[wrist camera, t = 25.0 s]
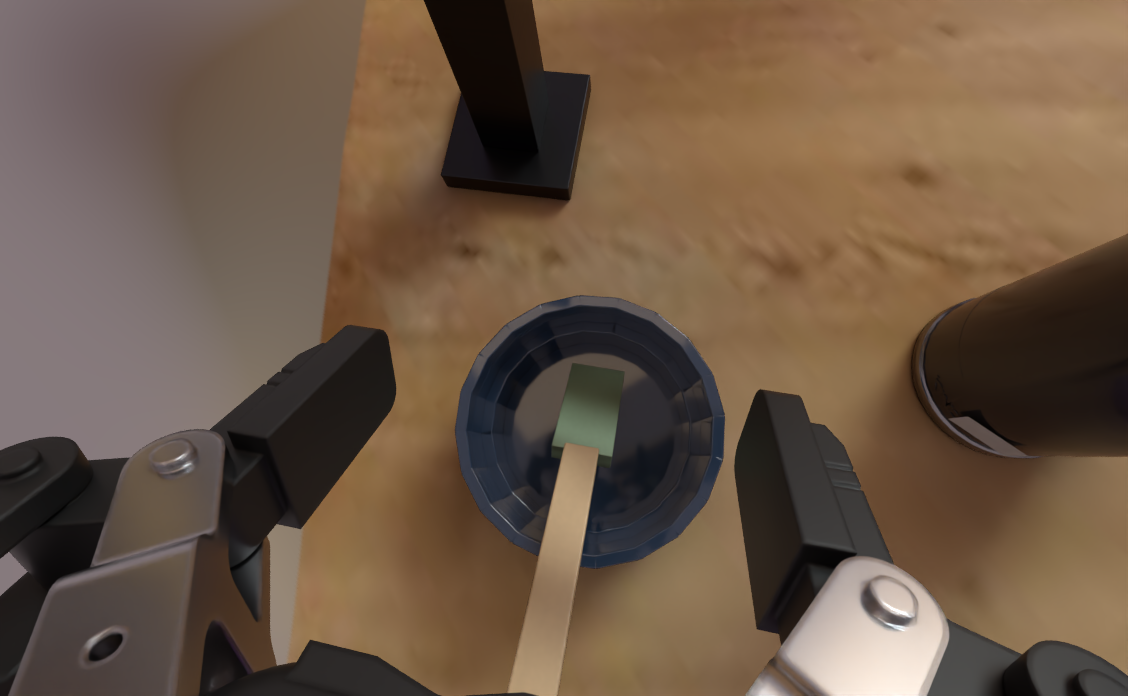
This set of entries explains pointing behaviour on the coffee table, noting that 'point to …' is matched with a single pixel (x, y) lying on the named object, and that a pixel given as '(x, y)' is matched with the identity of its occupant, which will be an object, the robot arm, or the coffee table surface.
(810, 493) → the robot arm
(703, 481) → the bowl
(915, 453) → the coffee table surface
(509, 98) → the headphone stand
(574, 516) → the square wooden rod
